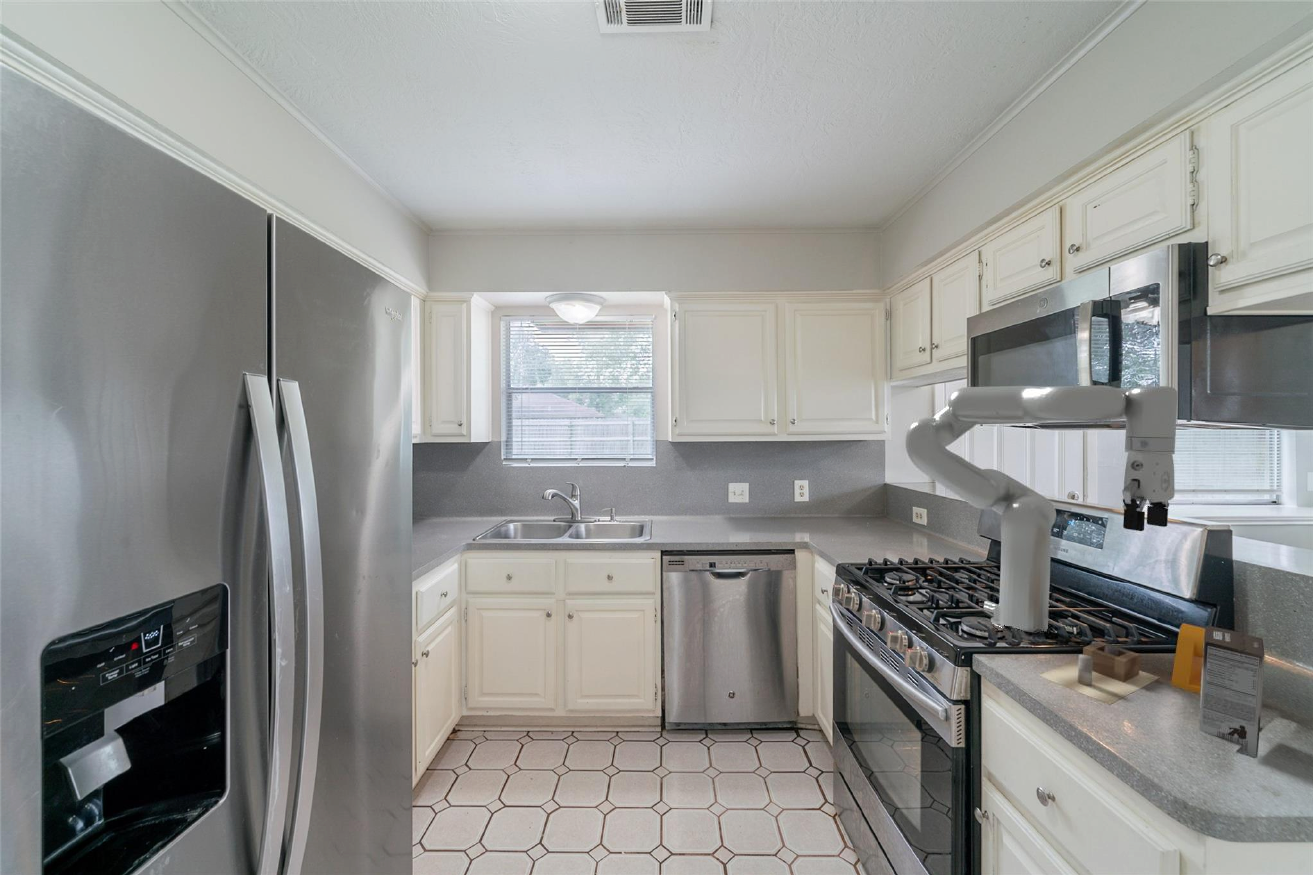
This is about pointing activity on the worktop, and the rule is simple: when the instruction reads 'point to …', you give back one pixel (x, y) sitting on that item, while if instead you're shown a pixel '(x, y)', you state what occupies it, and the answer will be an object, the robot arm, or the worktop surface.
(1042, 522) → the robot arm
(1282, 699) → the worktop surface
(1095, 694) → the board
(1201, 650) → the bracket
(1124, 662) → the collar
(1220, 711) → the coffee box
